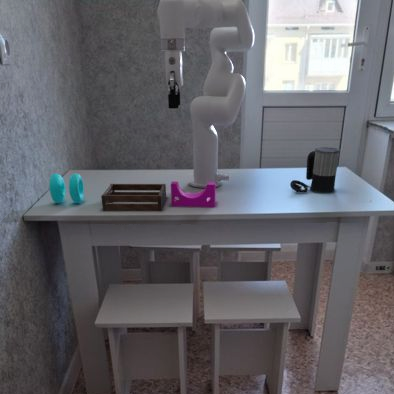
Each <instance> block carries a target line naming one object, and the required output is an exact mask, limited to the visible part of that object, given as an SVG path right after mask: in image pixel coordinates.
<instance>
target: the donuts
mask: <svg viewBox="0 0 394 394" xmlns="http://www.w3.org/2000/svg"><path fill="white" fill-rule="evenodd" d="M84 186H85V184H84V180H83V178H82V175H80V174H79V173H73V174H71V176H70V178H69V181H68V193H69V196H70V198H71V200H72V202H73V203H75V204H81V203H82V202H83V200H84V197H85V187H84ZM66 191H67V190H66V183H65V181H64V177H63V176H62V175H61V174H59V173H53V174H51V176H50V178H49V195H50V197H51V199H52V201H53V202H54V203H55V204H61V203H63V202H64V201H65V198H66Z"/></svg>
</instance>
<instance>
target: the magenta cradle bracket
mask: <svg viewBox="0 0 394 394" xmlns="http://www.w3.org/2000/svg"><path fill="white" fill-rule="evenodd" d="M216 190H217V189H216V187H215V182H208V183H207V186H206V188H203V190H201V191H199V192H196V193H192V192H188V191H186V192H184V191H183V189H182V188H181V187H180V183H179V181H171V183H170V199H171V200H170V204H171V207H183V208H184V207H187V208H188V207H191V208H192V207H195V208H215V206H216V201H217V200H216V199H217V198H216V197H217V191H216ZM176 198H177V199H176Z"/></svg>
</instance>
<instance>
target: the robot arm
mask: <svg viewBox="0 0 394 394" xmlns="http://www.w3.org/2000/svg"><path fill="white" fill-rule="evenodd" d="M156 13H157V14H156V15H157V19H158V22H159V33H160V52H164V65H165V66H164V67H165V82H166V87H167V88H168V94H167V103H168V105H167V106H168V107H167V108H168V109H179V106H181V91H180V88H182V87H183V86H184V68H183V53H182V52H185V51H186V37H185V36H186V33H185V32H186V31H185V28H189V29H212V30H210V33H209V48H210V56H211V66H210V68H209V70H208V73H207V76H206V78H205V80H204V83H203V86H202V94H203V95H199V96H196V97H194V98H193V100H192V101H191V103H190V107H189V110H190V111H189V112H190V113H189V114H190V119H191V124H192V145H193V147H192V148H193V151H192V152H193V153H192V154H193V155H192V159H193V162H192V163H193V179H191V180H189V186H190V187H193V188H199V189H205V188H206V186H207V183H208V182H215V188H216V187H220V186H221V185H222V181H230V175H228V174H221V173H219V170H218V165H219V163H218V162H219V136H218V133H217V130H216V129H215V127H214V126H223V127H224V126H232V124H234V122H235V121H236V119H237V117H238V114H239V111H240V109H241V106H242V104H243V101H244V97H245V95H246V80H245V77H243V75H242V74H241V73H236V72H234V64H233V62H232V60H231V59H230V57H229V56H228V55H227V53H245V52H249V51H251V49H252V48H253V47H254V44H255V32H254V27H253V23H252V20H251V17H250V14H249V12H248V9H247V7H246V4H245V3H244V1H243V0H159V3H158V6H157V12H156Z"/></svg>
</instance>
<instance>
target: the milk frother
mask: <svg viewBox="0 0 394 394" xmlns="http://www.w3.org/2000/svg"><path fill="white" fill-rule="evenodd" d="M340 152H341V149H340V148H336V147H327V146H326V147H325V146H324V147H323V146H322V147H316V148H315V149H314V150H313V151H311V152H309V154H308V155H307V158H306V171H305V172H306V174H305V175H306V176H305V178H306V180H308V181H311V183H310V186H309V185H308V184H306V183H305V182H302V181H300V180H295V179H293V180H291V181H290V183H289V187H290V188H291V189H292V190H293V191H295V193H300V194H301V193H303V194H304V193H308V191H309V190H310V191H311V192H315V193H320V194H330V193H333V192H335V185H336V176H337V171H338V165H339V164H338V163H339V158H340ZM302 188H303V189H302Z"/></svg>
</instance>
